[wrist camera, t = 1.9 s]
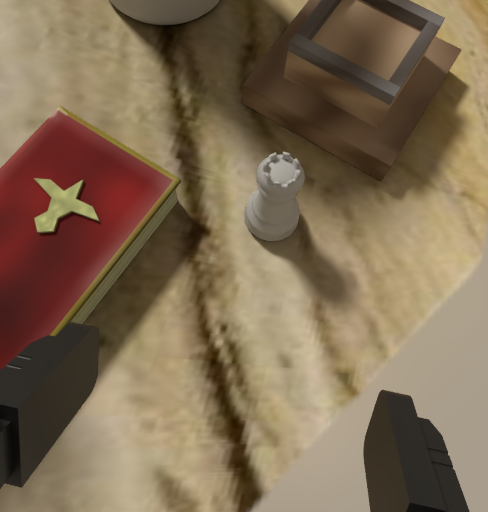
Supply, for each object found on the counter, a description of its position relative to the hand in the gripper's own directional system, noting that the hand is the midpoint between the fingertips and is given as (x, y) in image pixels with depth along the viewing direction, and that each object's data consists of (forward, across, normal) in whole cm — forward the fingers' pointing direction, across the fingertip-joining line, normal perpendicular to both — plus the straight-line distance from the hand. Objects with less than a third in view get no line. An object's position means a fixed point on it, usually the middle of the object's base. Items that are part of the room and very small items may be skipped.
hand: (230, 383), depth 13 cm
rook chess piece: (+25, +1, +2) cm, 25 cm away
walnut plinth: (+34, -4, -8) cm, 36 cm away
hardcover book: (+20, +17, +8) cm, 28 cm away
